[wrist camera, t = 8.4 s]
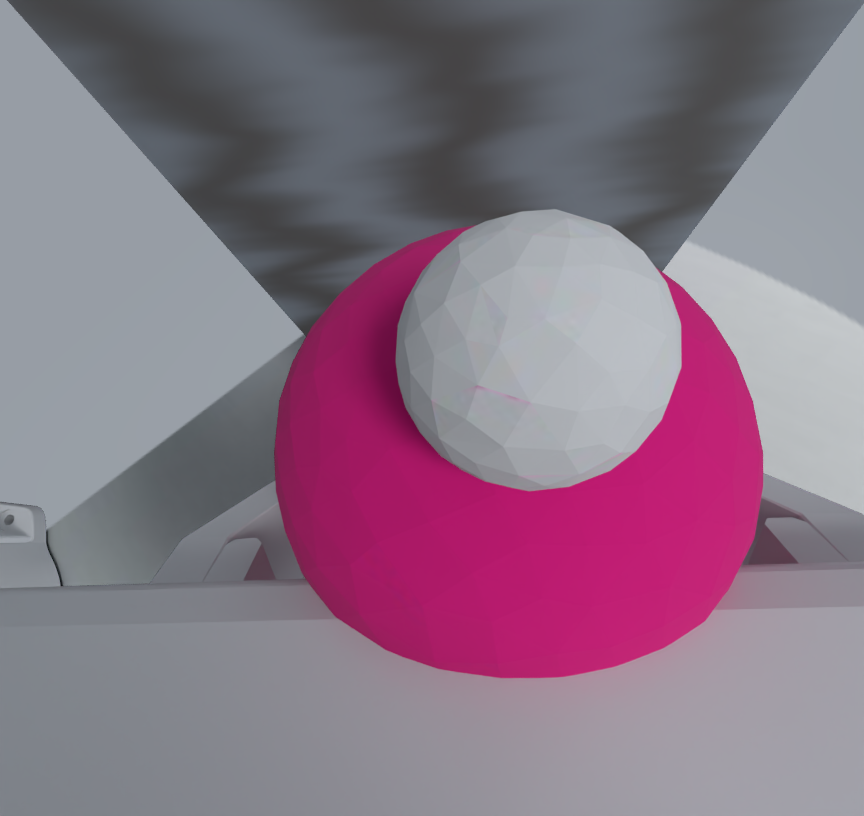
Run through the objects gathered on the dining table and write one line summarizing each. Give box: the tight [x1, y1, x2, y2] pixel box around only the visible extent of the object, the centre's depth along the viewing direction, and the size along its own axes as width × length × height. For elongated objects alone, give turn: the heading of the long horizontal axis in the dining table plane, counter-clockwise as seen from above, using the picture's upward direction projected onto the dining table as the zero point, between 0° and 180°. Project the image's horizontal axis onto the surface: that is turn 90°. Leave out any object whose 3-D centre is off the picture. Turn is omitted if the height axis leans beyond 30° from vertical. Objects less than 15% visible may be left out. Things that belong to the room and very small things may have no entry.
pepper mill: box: [274, 209, 763, 678], centre depth 12 cm, size 7×7×20 cm
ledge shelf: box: [7, 0, 864, 336], centre depth 20 cm, size 18×11×28 cm, turn 93°
